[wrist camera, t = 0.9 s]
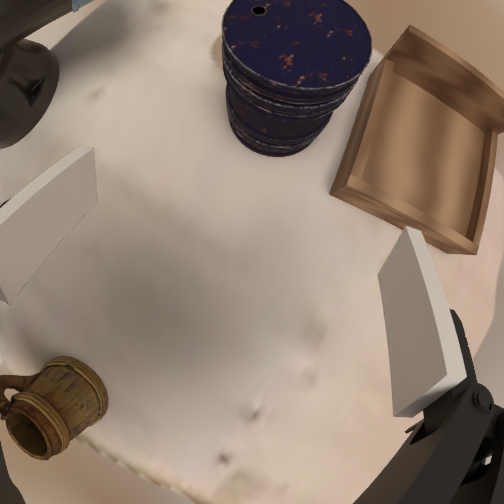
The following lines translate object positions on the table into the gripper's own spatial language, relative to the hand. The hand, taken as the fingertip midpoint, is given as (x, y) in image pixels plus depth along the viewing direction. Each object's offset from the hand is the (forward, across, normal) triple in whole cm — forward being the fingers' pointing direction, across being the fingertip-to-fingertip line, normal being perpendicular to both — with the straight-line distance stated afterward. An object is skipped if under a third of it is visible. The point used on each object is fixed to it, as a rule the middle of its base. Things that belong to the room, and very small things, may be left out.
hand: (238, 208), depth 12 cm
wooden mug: (0, -17, -28) cm, 33 cm away
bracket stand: (+23, +16, -2) cm, 28 cm away
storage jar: (+22, 0, -2) cm, 23 cm away
